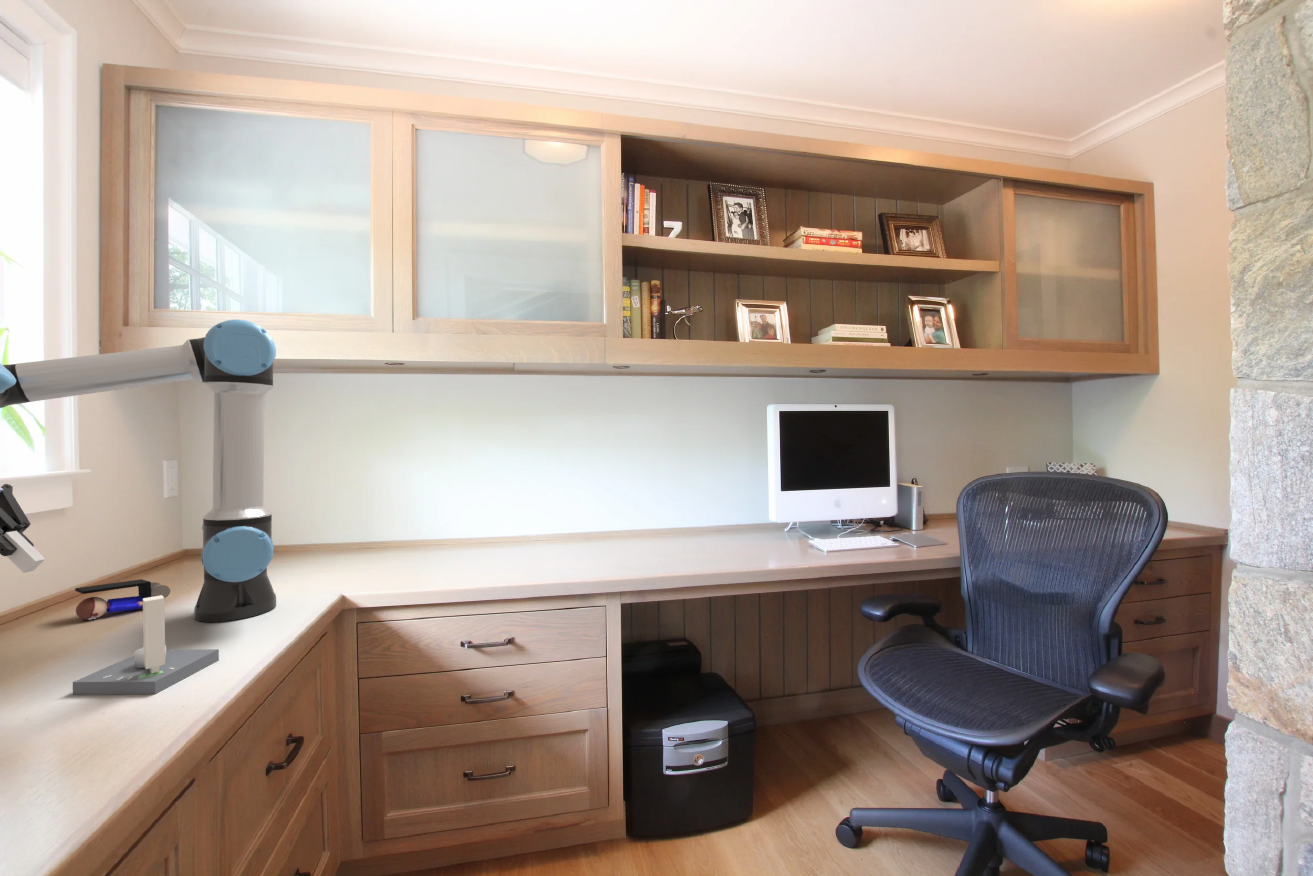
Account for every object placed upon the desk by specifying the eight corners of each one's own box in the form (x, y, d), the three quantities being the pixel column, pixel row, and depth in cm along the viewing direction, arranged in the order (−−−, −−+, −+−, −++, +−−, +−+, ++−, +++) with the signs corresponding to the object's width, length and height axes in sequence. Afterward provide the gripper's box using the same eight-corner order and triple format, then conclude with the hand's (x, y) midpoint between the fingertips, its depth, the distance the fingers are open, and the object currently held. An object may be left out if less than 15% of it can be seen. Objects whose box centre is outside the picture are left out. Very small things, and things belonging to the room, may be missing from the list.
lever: (133, 663, 95) (131, 593, 95) (164, 656, 98) (163, 588, 98) (139, 677, 90) (137, 602, 89) (171, 669, 93) (170, 597, 92)
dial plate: (146, 660, 102) (146, 649, 102) (218, 660, 102) (218, 648, 102) (72, 694, 89) (72, 681, 89) (155, 694, 89) (155, 680, 89)
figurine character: (156, 608, 137) (69, 619, 124) (161, 576, 137) (74, 583, 124) (168, 612, 133) (79, 624, 120) (172, 580, 134) (84, 588, 121)
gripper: (-39, 474, 96) (60, 571, 97) (-146, 482, 83) (-31, 594, 84) (-8, 444, 96) (91, 541, 97) (-111, 447, 83) (4, 559, 84)
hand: (34, 565), depth 91 cm, fingers closed
